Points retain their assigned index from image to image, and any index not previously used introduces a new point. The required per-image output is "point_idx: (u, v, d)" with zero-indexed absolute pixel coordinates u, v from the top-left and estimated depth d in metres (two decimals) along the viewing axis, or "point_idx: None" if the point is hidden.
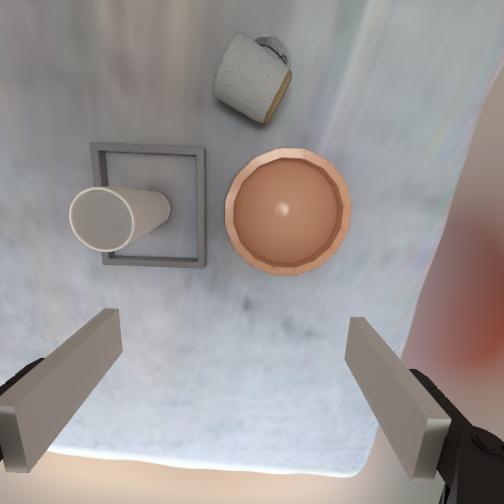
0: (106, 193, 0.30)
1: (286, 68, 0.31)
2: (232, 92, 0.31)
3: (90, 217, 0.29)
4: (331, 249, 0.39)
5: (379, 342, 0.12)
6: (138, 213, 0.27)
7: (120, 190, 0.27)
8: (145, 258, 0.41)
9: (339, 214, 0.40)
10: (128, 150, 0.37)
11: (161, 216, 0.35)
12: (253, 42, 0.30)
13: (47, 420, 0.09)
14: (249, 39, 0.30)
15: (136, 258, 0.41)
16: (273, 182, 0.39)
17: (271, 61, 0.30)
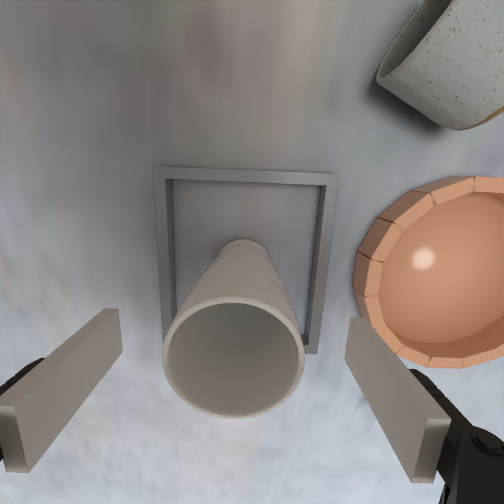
0: None
1: None
2: (443, 73, 0.17)
3: (184, 326, 0.15)
4: None
5: (379, 342, 0.12)
6: None
7: (267, 291, 0.12)
8: None
9: None
10: (215, 179, 0.22)
11: None
12: None
13: (47, 420, 0.09)
14: None
15: None
16: (437, 226, 0.25)
17: None
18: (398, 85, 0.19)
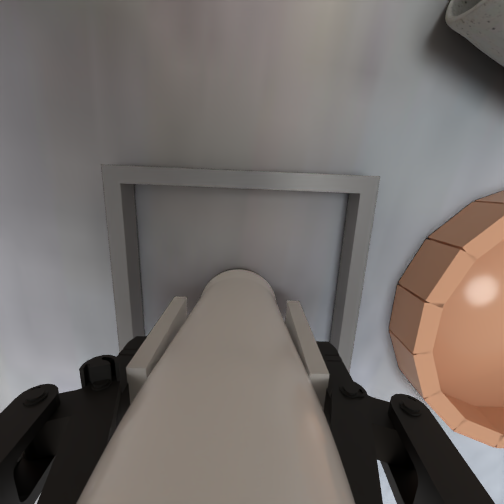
0: None
1: None
2: None
3: None
4: None
5: (301, 320, 0.14)
6: None
7: (293, 469, 0.05)
8: None
9: None
10: (195, 184, 0.15)
11: None
12: None
13: None
14: None
15: None
16: None
17: None
18: (498, 19, 0.11)
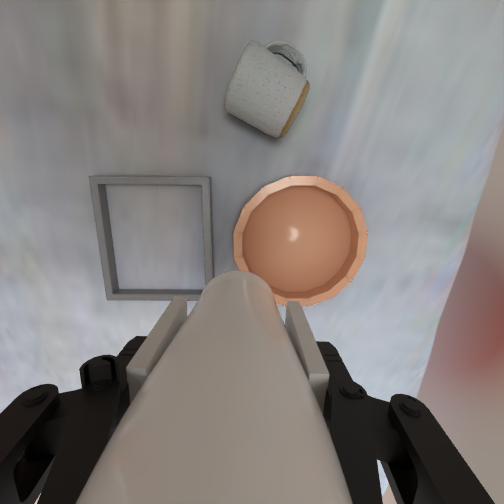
0: None
1: (304, 79, 0.28)
2: (245, 107, 0.29)
3: None
4: (346, 278, 0.37)
5: (301, 320, 0.14)
6: None
7: (290, 470, 0.05)
8: (150, 292, 0.40)
9: (353, 240, 0.37)
10: (129, 183, 0.35)
11: None
12: (268, 52, 0.28)
13: None
14: (263, 48, 0.27)
15: (141, 292, 0.40)
16: (283, 209, 0.37)
17: (288, 72, 0.28)
18: (231, 112, 0.31)
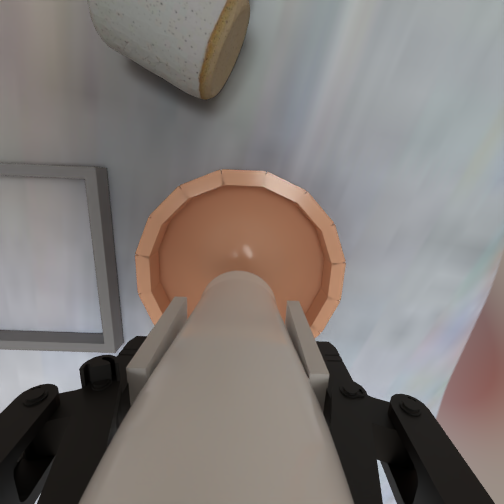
0: None
1: None
2: (127, 30, 0.16)
3: None
4: (312, 329, 0.24)
5: (301, 320, 0.14)
6: None
7: (292, 472, 0.05)
8: (23, 337, 0.27)
9: (325, 272, 0.25)
10: None
11: None
12: None
13: None
14: None
15: (10, 337, 0.27)
16: (219, 221, 0.24)
17: None
18: (114, 47, 0.18)
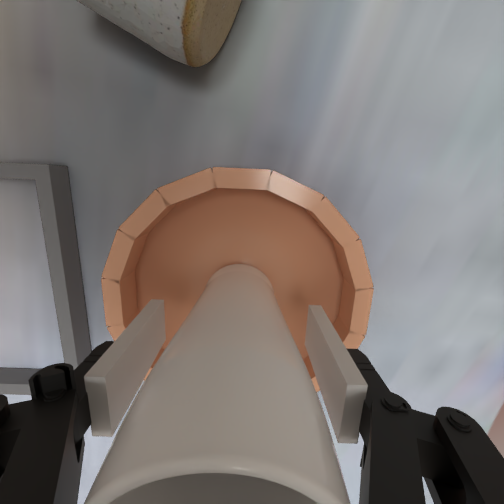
0: None
1: None
2: None
3: None
4: None
5: (327, 325, 0.13)
6: None
7: (284, 414, 0.06)
8: None
9: (345, 297, 0.20)
10: None
11: None
12: None
13: (122, 393, 0.11)
14: None
15: None
16: (210, 234, 0.19)
17: None
18: None
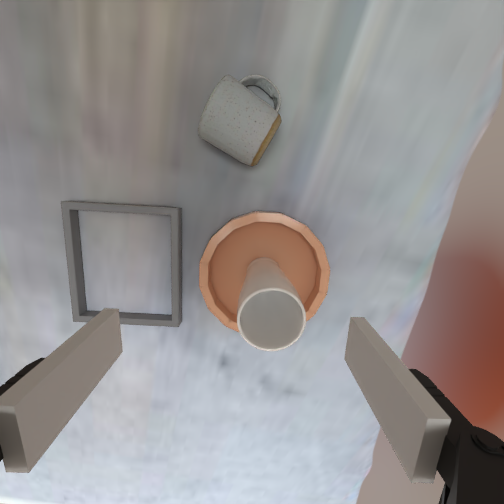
0: None
1: (275, 114, 0.30)
2: (217, 136, 0.30)
3: None
4: (309, 312, 0.38)
5: (379, 342, 0.12)
6: None
7: (288, 286, 0.25)
8: None
9: (317, 275, 0.38)
10: (100, 210, 0.36)
11: None
12: (240, 87, 0.29)
13: (47, 420, 0.09)
14: (236, 83, 0.29)
15: None
16: (250, 242, 0.38)
17: (259, 107, 0.29)
18: (205, 139, 0.32)
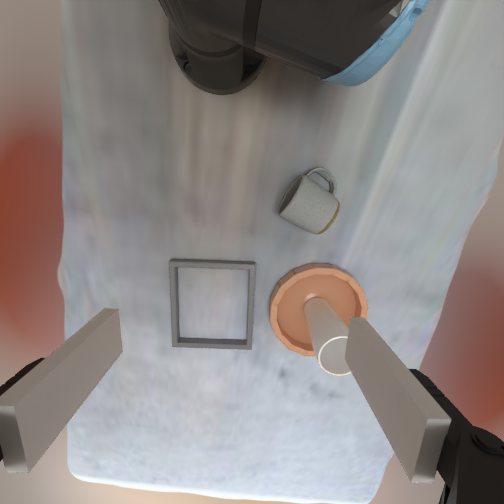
0: None
1: (336, 202, 0.42)
2: (295, 219, 0.42)
3: None
4: None
5: (379, 342, 0.12)
6: None
7: None
8: (205, 341, 0.53)
9: (357, 310, 0.51)
10: (197, 267, 0.48)
11: None
12: (313, 186, 0.41)
13: (47, 420, 0.09)
14: (310, 184, 0.40)
15: (198, 341, 0.53)
16: (307, 286, 0.51)
17: (326, 200, 0.41)
18: (283, 217, 0.44)
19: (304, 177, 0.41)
